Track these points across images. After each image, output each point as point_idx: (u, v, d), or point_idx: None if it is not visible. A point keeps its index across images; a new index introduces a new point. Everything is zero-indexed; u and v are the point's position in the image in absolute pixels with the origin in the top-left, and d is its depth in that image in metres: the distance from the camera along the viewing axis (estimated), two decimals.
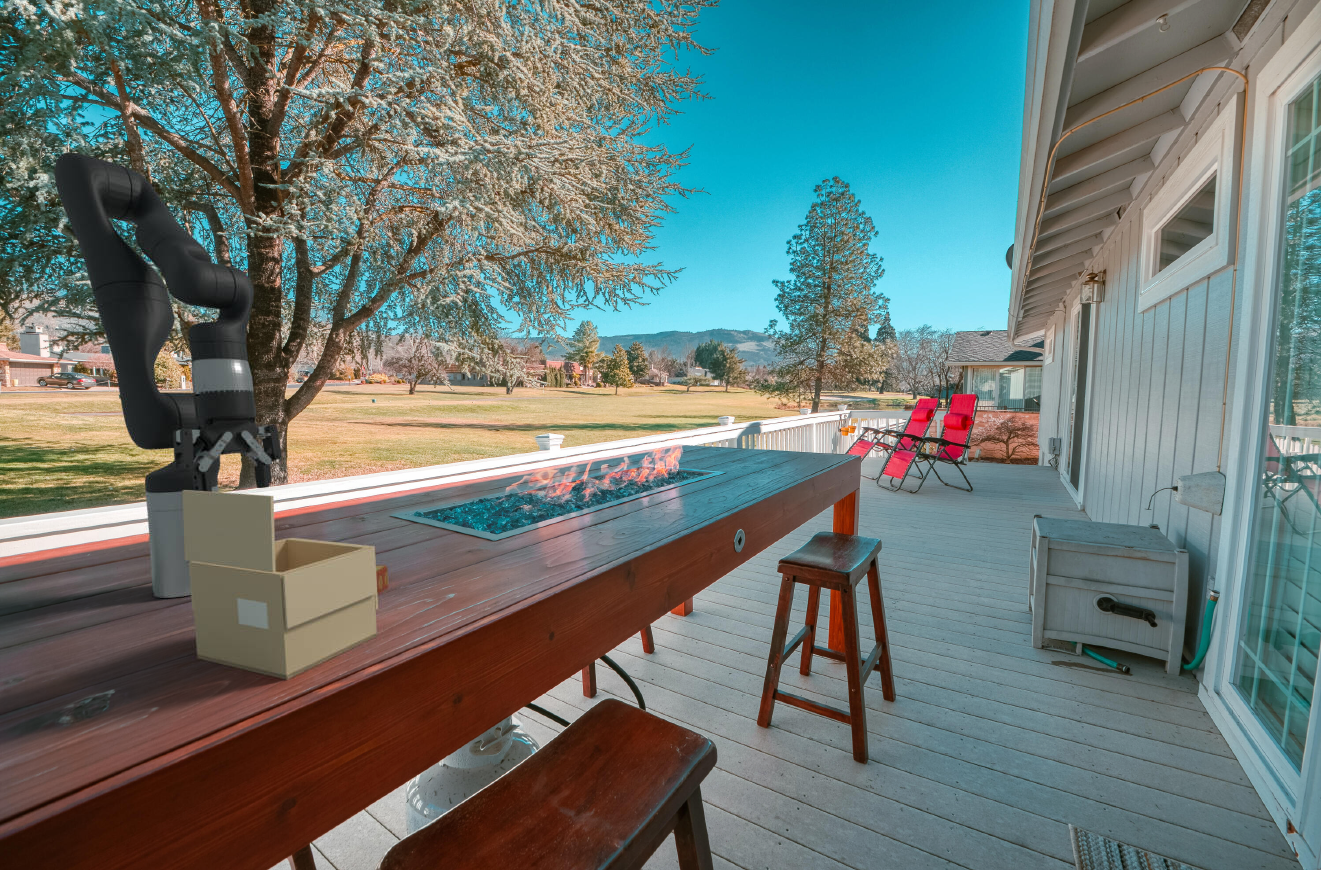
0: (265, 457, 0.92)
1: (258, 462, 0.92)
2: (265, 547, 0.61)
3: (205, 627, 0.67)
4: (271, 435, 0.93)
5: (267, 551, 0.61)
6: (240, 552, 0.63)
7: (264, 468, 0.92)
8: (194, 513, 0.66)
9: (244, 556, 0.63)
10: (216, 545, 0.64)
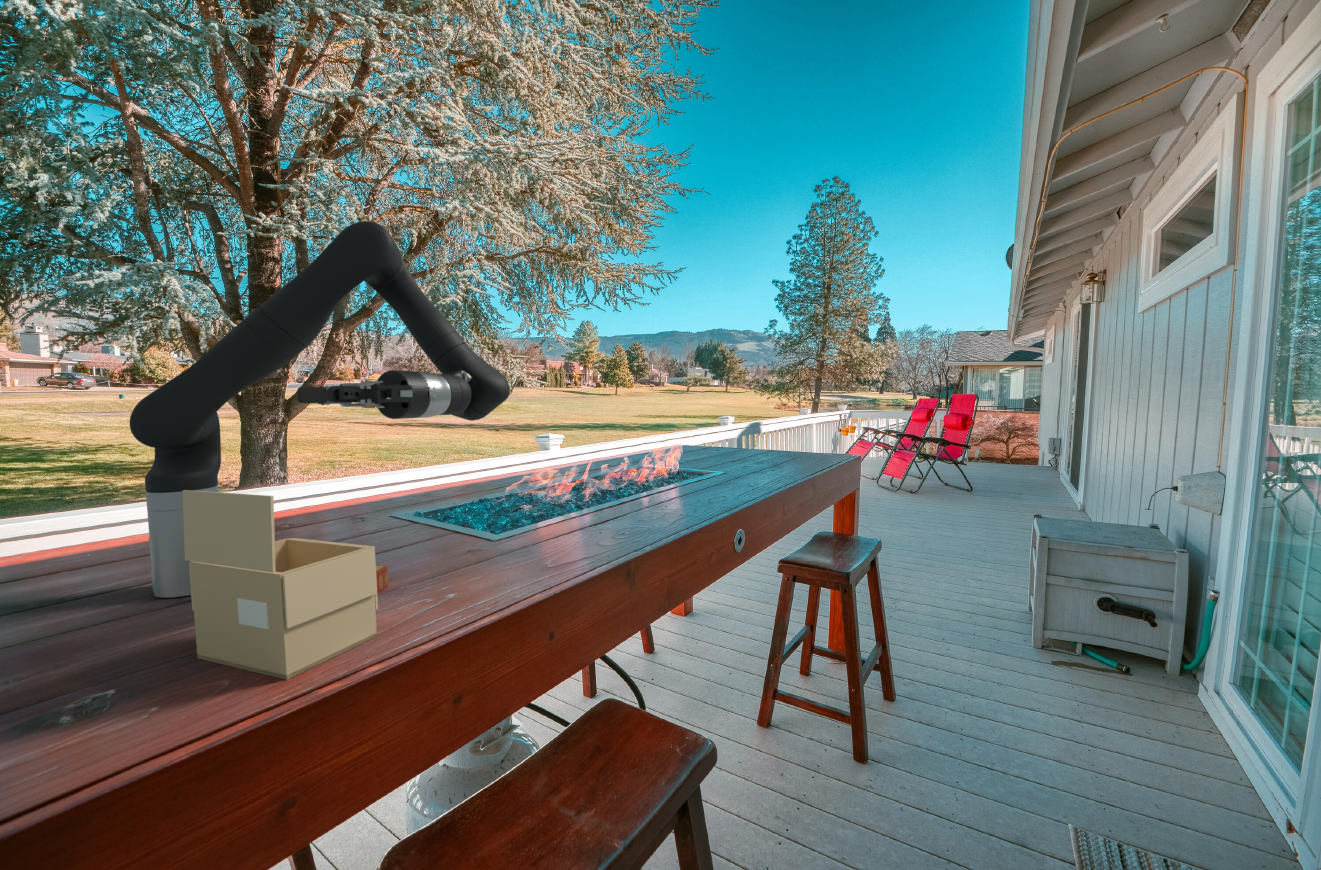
0: (332, 403, 0.80)
1: (329, 393, 0.79)
2: (265, 547, 0.61)
3: (205, 627, 0.67)
4: None
5: (267, 551, 0.61)
6: (240, 552, 0.63)
7: (322, 402, 0.78)
8: (194, 513, 0.66)
9: (244, 556, 0.63)
10: (216, 545, 0.64)
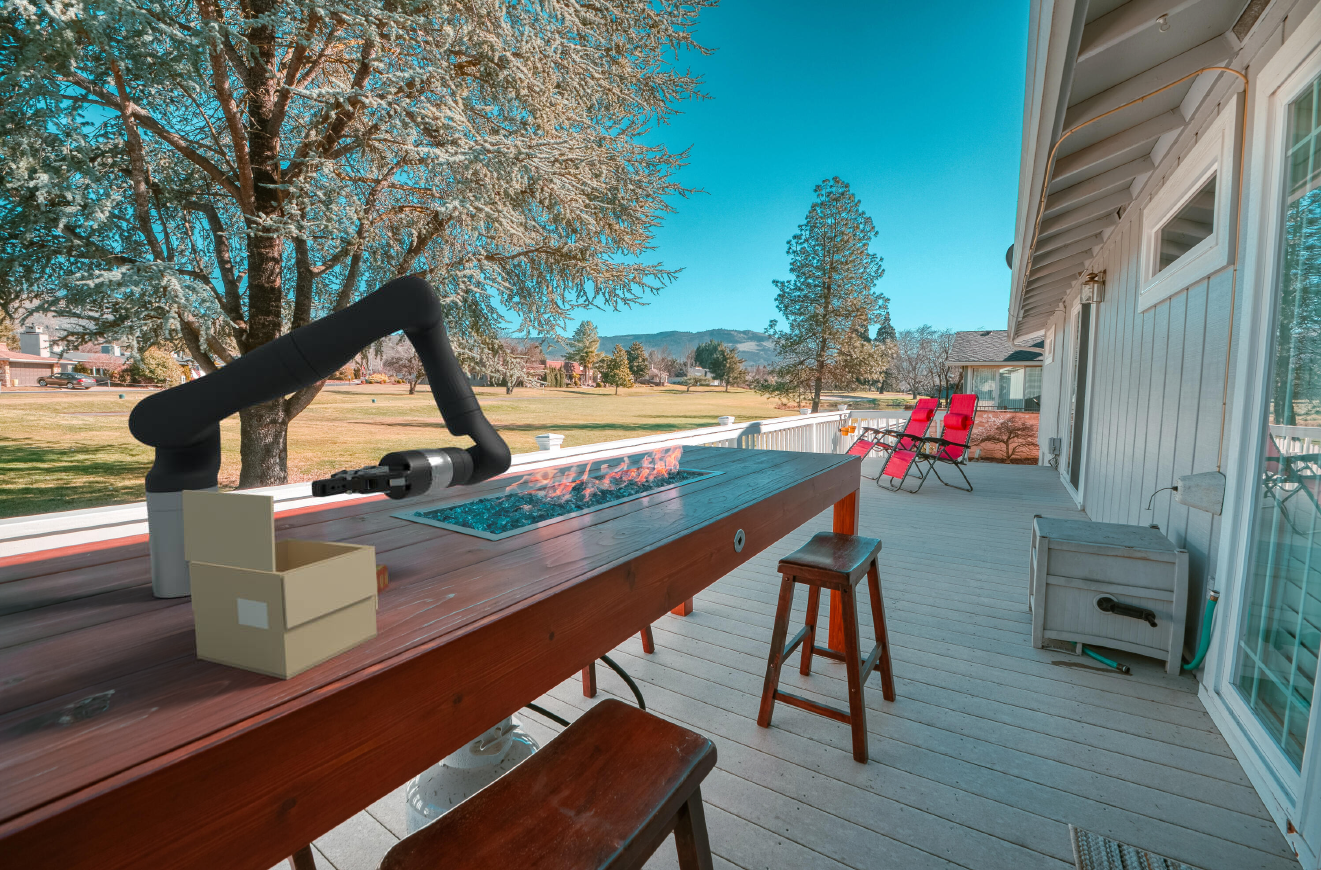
0: None
1: None
2: (265, 547, 0.61)
3: (205, 627, 0.67)
4: None
5: (267, 551, 0.61)
6: (240, 552, 0.63)
7: None
8: (194, 513, 0.66)
9: (244, 556, 0.63)
10: (216, 545, 0.64)
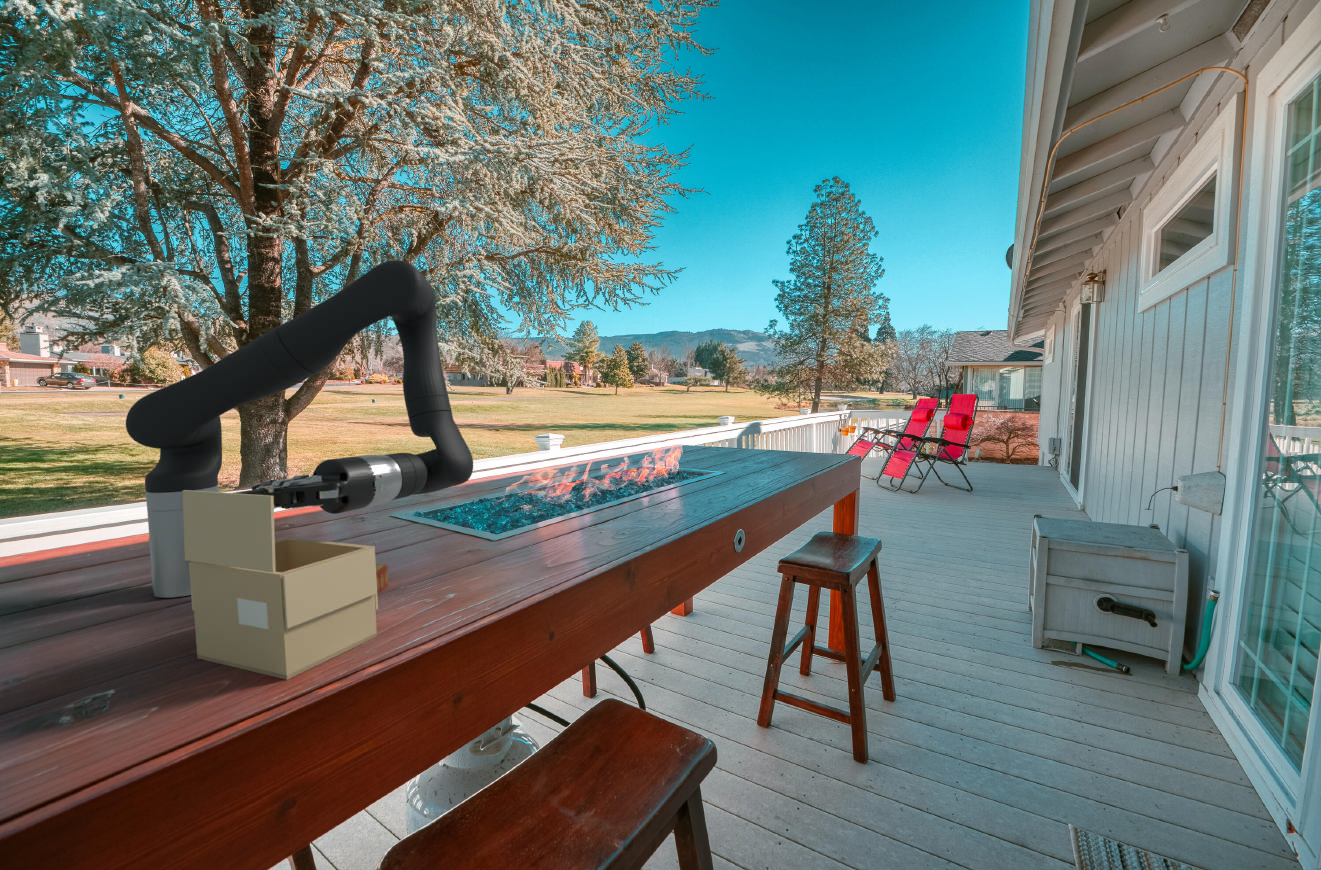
0: None
1: None
2: (265, 547, 0.61)
3: (205, 627, 0.67)
4: None
5: (267, 551, 0.61)
6: (240, 552, 0.63)
7: None
8: (194, 513, 0.66)
9: (244, 556, 0.63)
10: (216, 545, 0.64)
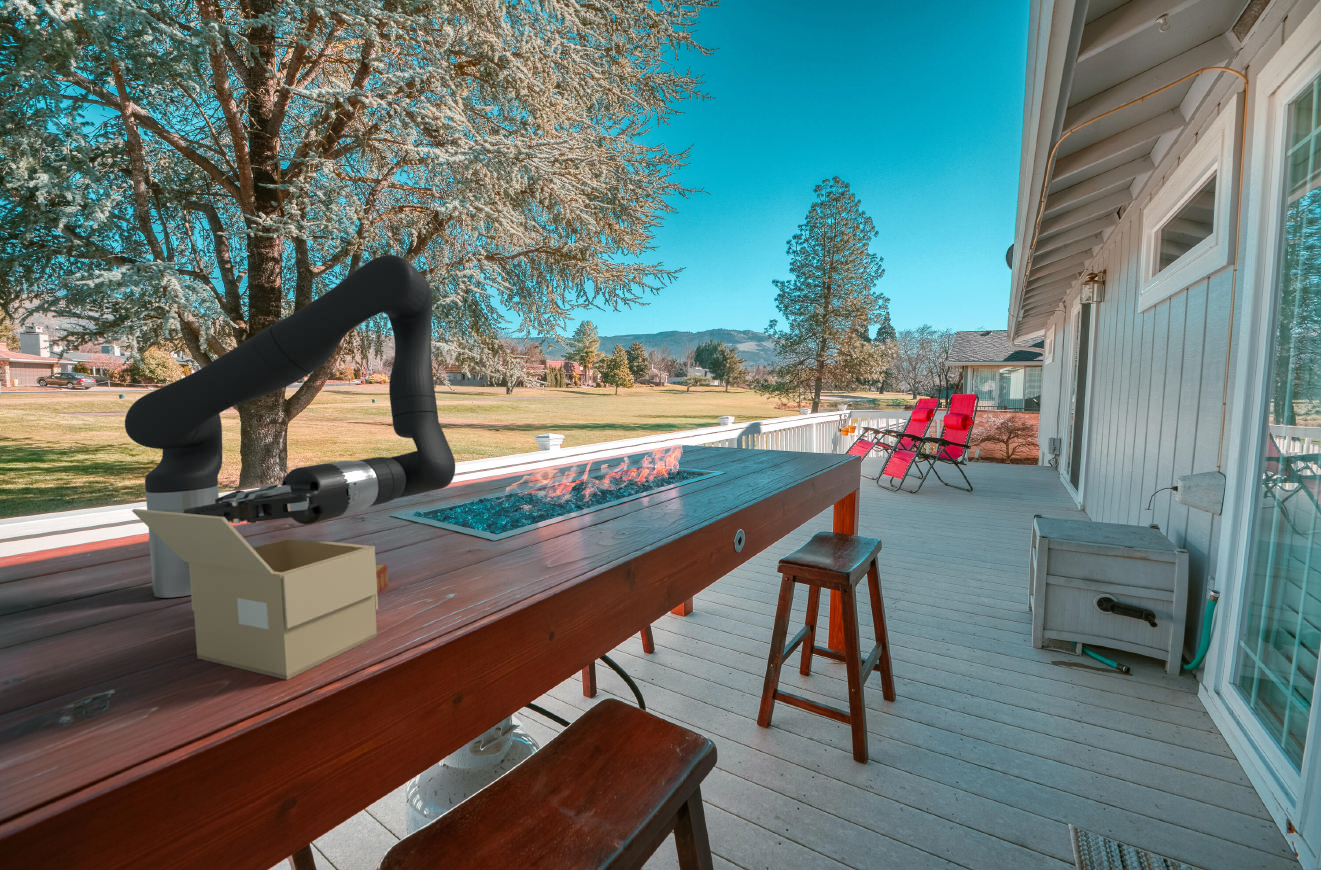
0: None
1: None
2: (249, 556, 0.60)
3: (205, 627, 0.67)
4: None
5: (254, 559, 0.60)
6: (229, 558, 0.62)
7: None
8: (160, 528, 0.62)
9: (235, 561, 0.62)
10: (202, 552, 0.63)
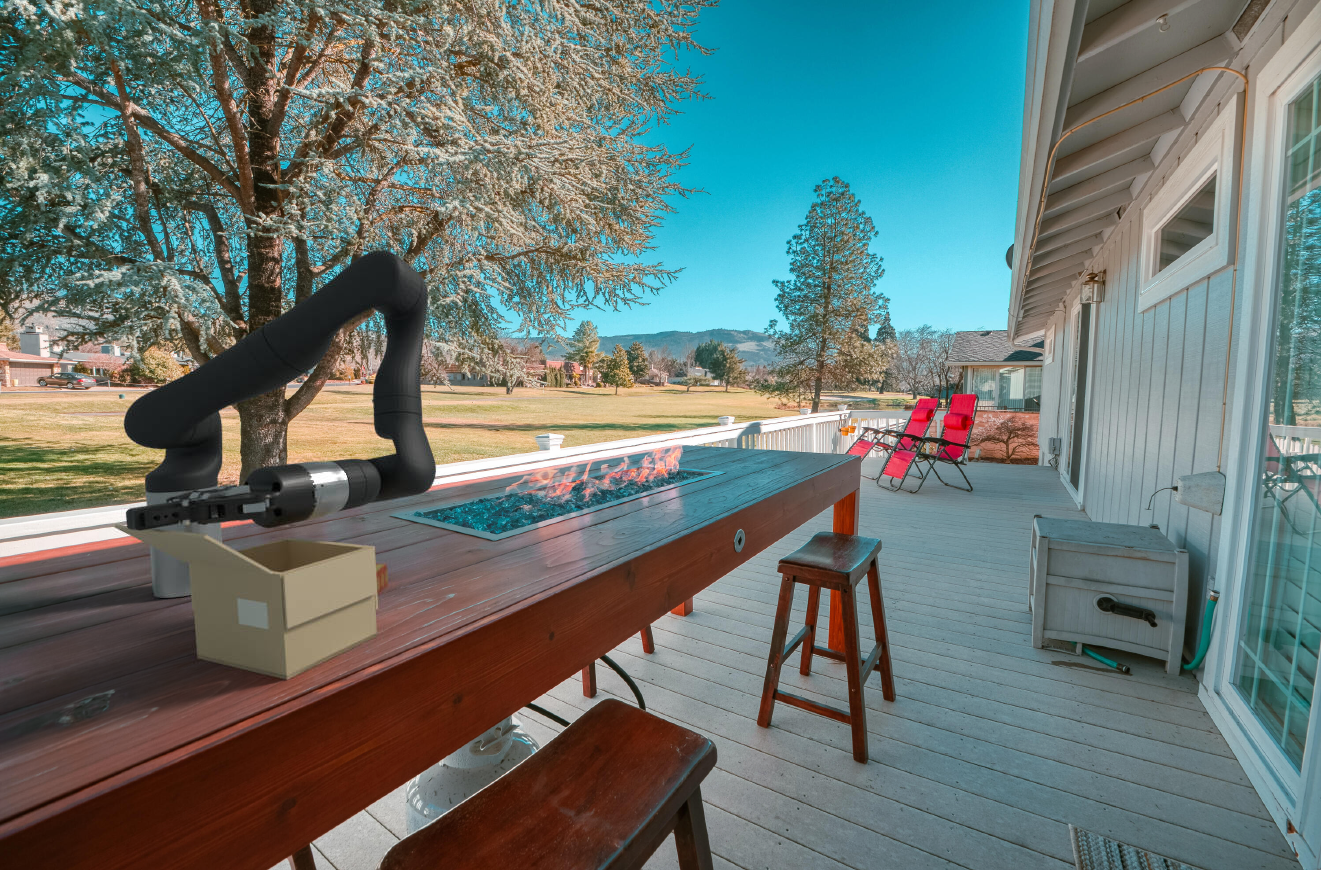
0: None
1: None
2: (244, 562, 0.59)
3: (205, 627, 0.67)
4: None
5: (250, 564, 0.59)
6: (226, 562, 0.61)
7: None
8: (148, 540, 0.61)
9: (233, 564, 0.61)
10: (198, 557, 0.63)
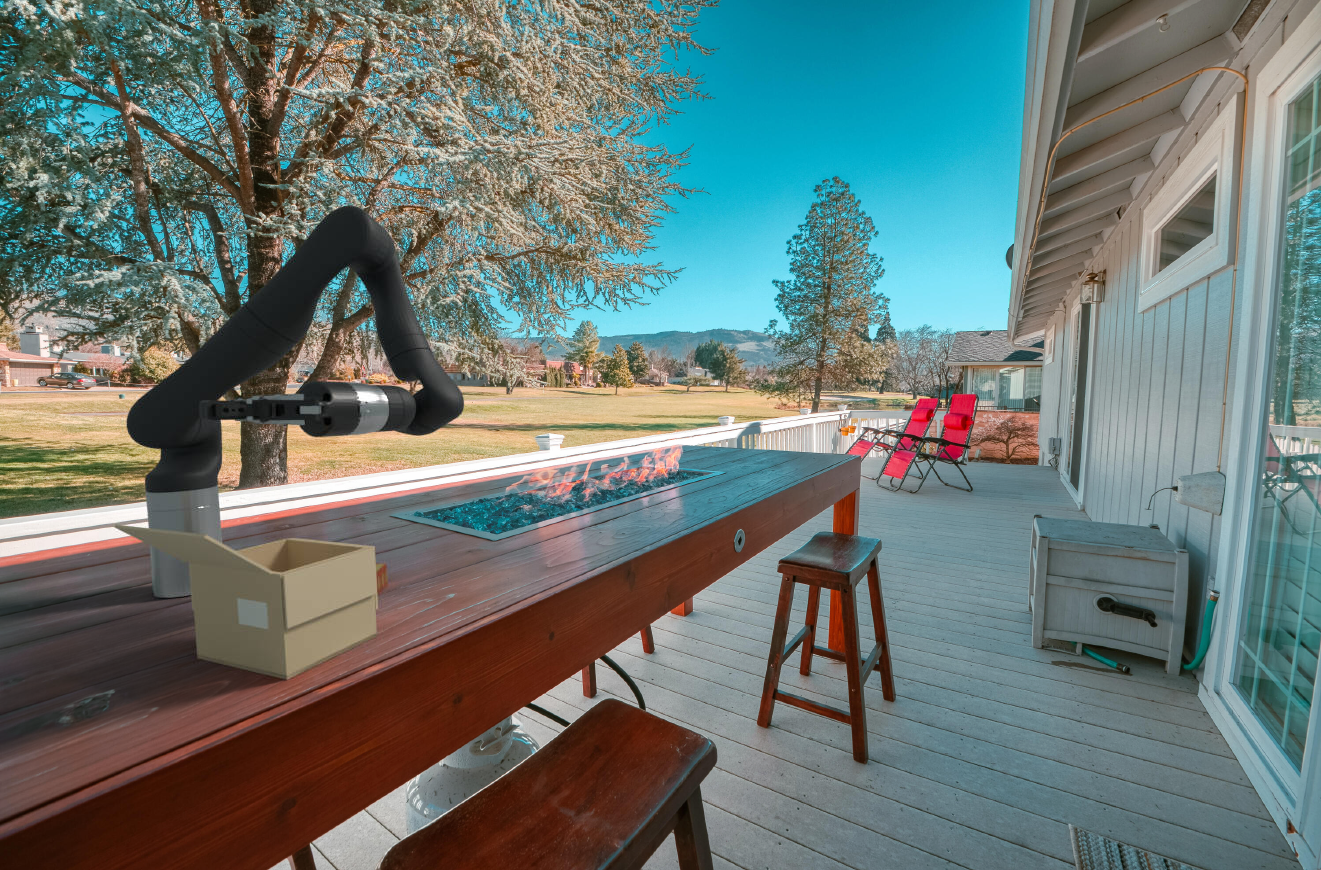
0: None
1: None
2: (244, 562, 0.59)
3: (205, 627, 0.67)
4: None
5: (250, 564, 0.59)
6: (226, 562, 0.61)
7: None
8: (148, 540, 0.61)
9: (233, 564, 0.61)
10: (198, 557, 0.63)
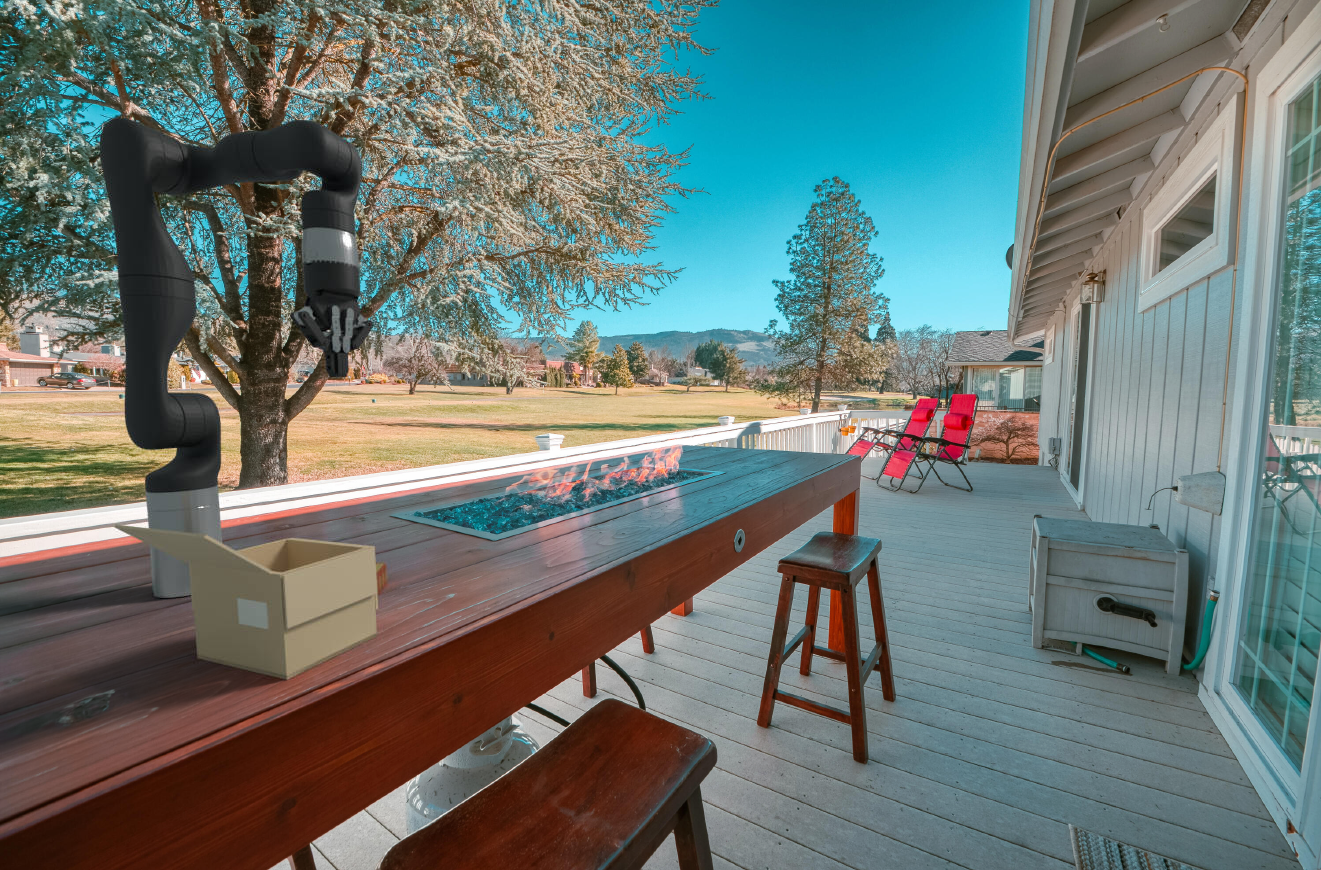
0: (347, 344, 0.87)
1: None
2: (244, 562, 0.59)
3: (205, 627, 0.67)
4: (364, 327, 0.90)
5: (250, 564, 0.59)
6: (226, 562, 0.61)
7: (343, 356, 0.86)
8: (148, 540, 0.61)
9: (233, 564, 0.61)
10: (198, 557, 0.63)
